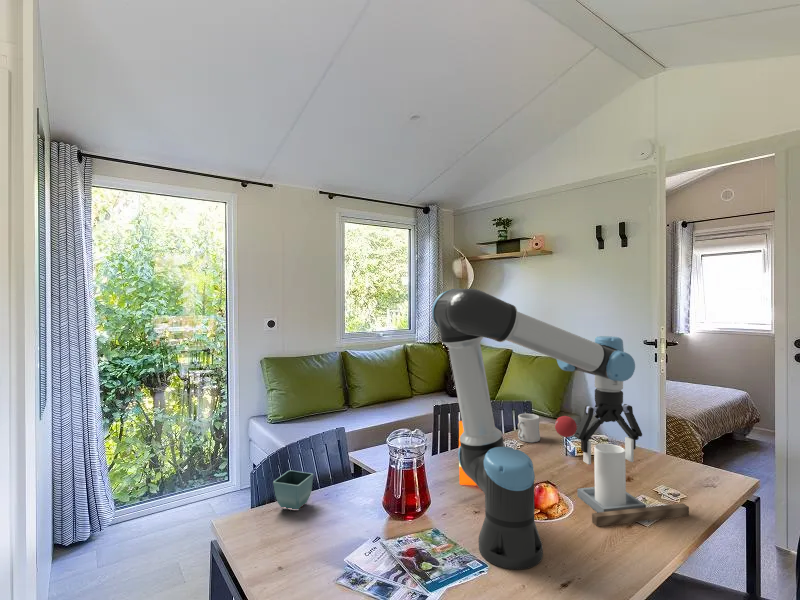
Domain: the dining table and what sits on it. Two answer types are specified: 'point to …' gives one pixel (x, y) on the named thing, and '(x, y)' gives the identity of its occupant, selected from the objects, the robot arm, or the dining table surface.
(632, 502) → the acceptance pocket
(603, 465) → the cup
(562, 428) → the lollipop
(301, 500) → the flower pot
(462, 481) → the orange juice
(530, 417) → the mug
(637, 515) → the door edge rail
